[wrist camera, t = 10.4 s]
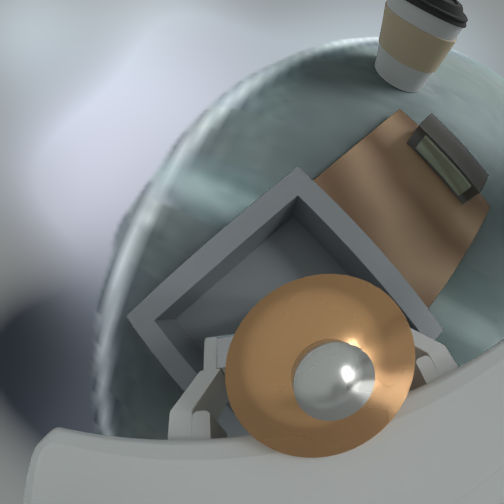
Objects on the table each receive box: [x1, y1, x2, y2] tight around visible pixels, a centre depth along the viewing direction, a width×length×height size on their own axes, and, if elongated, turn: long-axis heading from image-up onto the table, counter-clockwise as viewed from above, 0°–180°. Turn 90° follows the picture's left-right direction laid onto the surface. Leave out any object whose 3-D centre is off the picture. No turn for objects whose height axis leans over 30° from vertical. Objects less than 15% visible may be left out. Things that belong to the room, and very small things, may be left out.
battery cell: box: [225, 274, 415, 458], centre depth 11 cm, size 4×4×13 cm
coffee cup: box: [375, 0, 468, 93], centre depth 18 cm, size 9×9×15 cm
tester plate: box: [313, 109, 490, 308], centre depth 19 cm, size 14×14×4 cm
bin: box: [126, 167, 443, 437], centre depth 18 cm, size 15×15×5 cm
